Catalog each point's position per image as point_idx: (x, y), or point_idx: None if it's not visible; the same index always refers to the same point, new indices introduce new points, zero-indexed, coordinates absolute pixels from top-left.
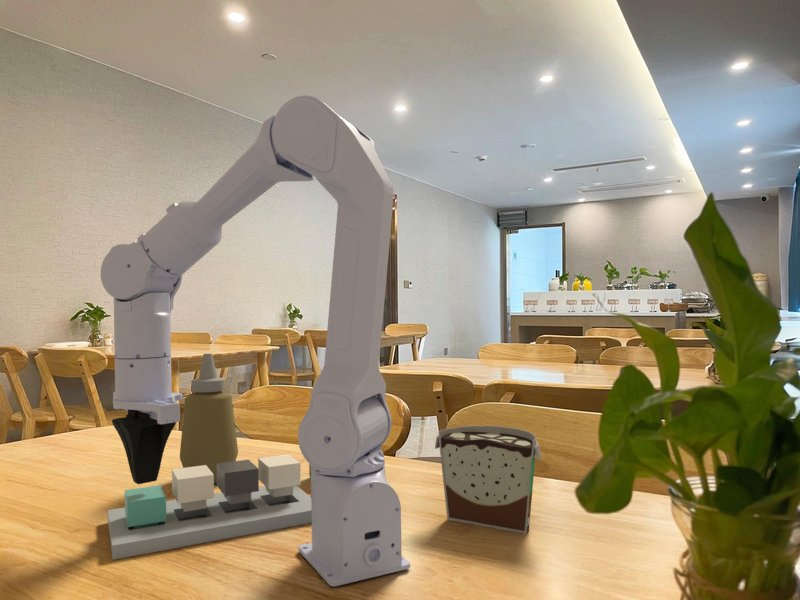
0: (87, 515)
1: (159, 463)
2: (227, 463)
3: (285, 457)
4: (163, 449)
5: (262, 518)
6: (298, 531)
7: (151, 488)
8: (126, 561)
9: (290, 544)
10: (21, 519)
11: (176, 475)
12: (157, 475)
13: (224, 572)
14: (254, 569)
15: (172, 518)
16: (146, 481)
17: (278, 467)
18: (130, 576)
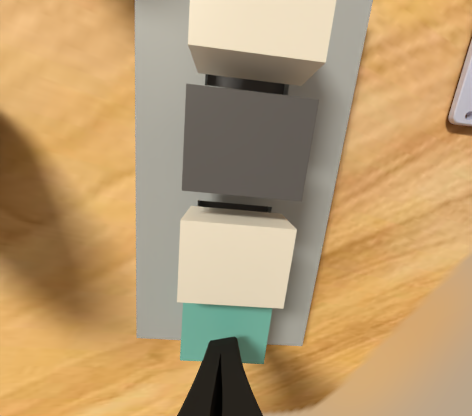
0: (93, 342)
1: (242, 368)
2: (198, 161)
3: None
4: (257, 404)
5: (341, 135)
6: (371, 82)
7: (197, 320)
8: (310, 318)
9: (410, 120)
10: (67, 408)
11: (243, 304)
12: (237, 344)
13: (426, 232)
14: (446, 198)
15: None
16: (240, 357)
17: (328, 27)
18: (357, 320)
